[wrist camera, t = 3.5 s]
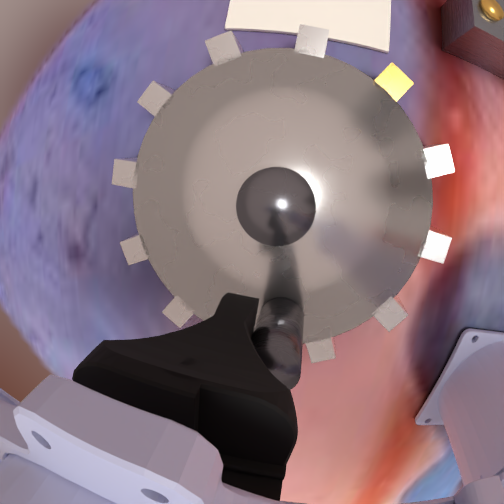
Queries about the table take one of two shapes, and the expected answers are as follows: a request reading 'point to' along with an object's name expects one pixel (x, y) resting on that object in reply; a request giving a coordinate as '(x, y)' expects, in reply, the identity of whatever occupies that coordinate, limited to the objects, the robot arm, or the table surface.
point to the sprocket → (284, 194)
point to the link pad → (317, 19)
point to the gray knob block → (475, 32)
